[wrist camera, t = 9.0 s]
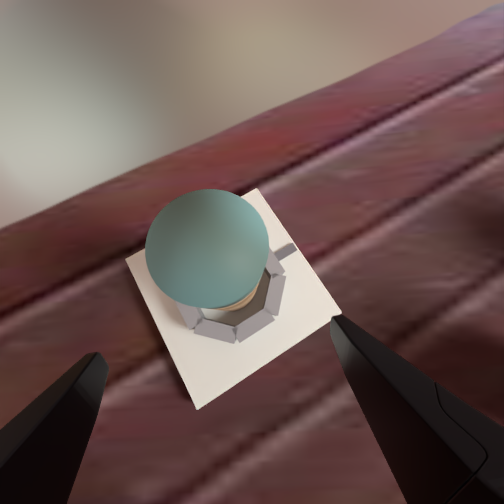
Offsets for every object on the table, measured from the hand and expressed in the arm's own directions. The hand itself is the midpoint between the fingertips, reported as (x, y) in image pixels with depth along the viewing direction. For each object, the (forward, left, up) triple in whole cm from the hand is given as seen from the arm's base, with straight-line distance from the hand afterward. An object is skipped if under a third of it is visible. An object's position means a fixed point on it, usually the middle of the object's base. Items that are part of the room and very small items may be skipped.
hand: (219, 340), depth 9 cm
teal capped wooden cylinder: (+1, +3, -11) cm, 11 cm away
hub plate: (+1, +3, -12) cm, 12 cm away
